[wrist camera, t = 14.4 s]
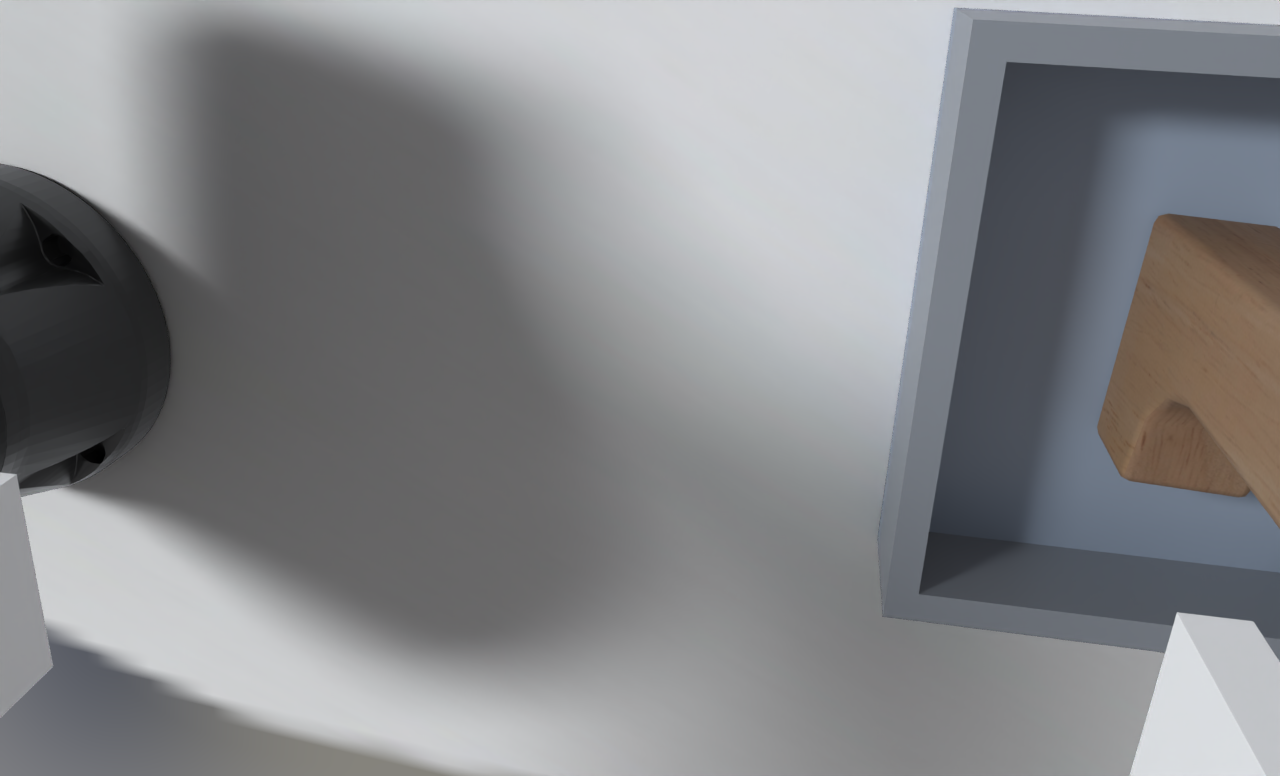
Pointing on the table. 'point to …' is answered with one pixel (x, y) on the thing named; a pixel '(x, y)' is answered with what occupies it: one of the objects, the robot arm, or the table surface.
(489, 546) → the table surface
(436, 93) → the table surface
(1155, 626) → the open-top box
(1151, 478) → the wooden block
